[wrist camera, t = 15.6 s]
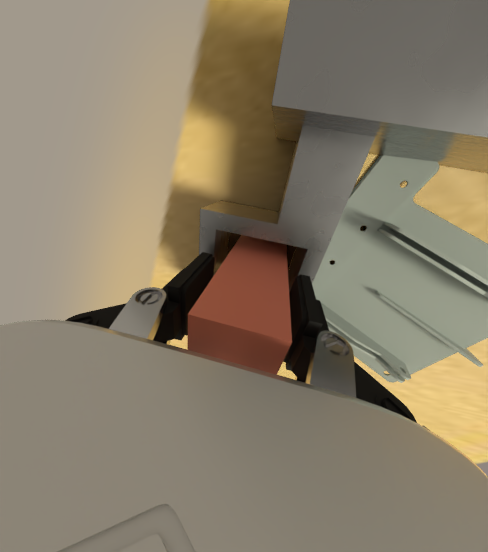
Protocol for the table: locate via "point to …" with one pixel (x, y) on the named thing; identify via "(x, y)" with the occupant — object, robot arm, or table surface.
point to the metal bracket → (402, 275)
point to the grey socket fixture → (363, 111)
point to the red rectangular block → (245, 308)
